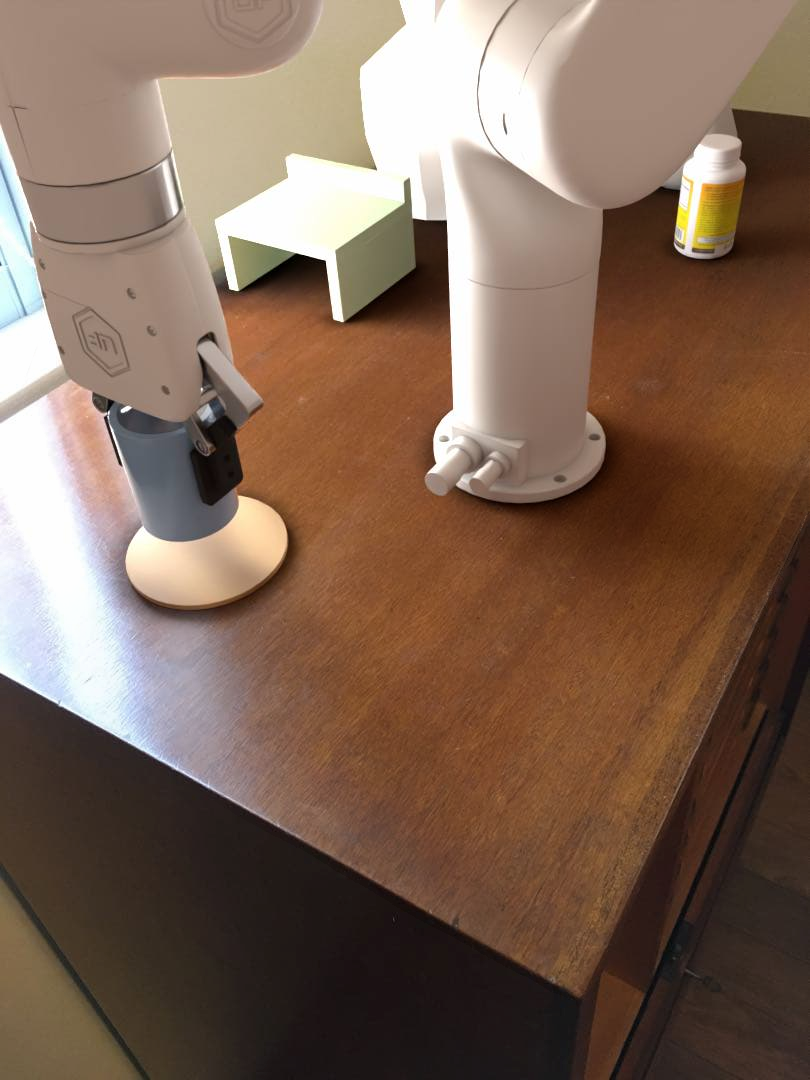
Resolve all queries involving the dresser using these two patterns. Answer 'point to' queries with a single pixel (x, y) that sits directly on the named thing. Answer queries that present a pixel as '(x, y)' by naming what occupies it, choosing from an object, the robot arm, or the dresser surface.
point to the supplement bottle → (710, 198)
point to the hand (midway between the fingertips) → (180, 472)
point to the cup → (166, 476)
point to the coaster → (210, 561)
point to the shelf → (325, 229)
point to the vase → (406, 110)
